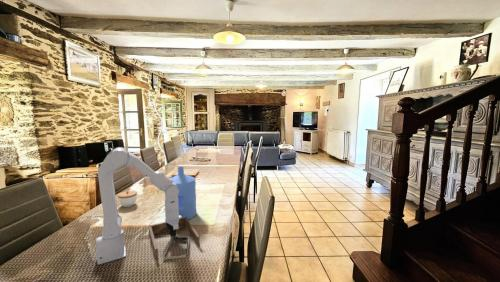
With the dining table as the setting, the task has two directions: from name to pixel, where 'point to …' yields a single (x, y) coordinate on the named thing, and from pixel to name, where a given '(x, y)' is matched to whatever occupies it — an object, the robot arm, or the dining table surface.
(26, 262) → the dining table surface
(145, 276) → the dining table surface
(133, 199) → the lidded jar
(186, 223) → the walnut u-shaped frame
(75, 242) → the dining table surface
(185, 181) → the water jug
